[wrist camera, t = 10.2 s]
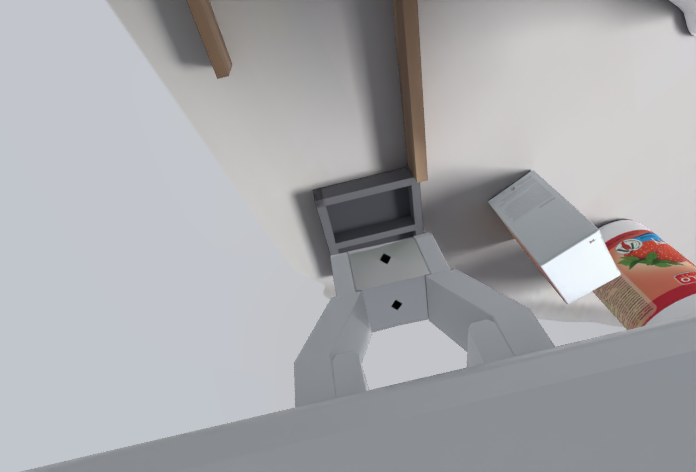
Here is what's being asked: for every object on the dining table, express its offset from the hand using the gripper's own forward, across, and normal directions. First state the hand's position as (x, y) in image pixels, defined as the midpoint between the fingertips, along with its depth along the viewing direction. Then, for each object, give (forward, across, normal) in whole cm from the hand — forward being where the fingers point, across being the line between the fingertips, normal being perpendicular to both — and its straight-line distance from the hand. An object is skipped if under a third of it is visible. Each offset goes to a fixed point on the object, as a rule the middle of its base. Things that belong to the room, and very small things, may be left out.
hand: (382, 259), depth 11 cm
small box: (+24, -19, +20) cm, 37 cm away
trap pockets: (+24, -2, +18) cm, 30 cm away
